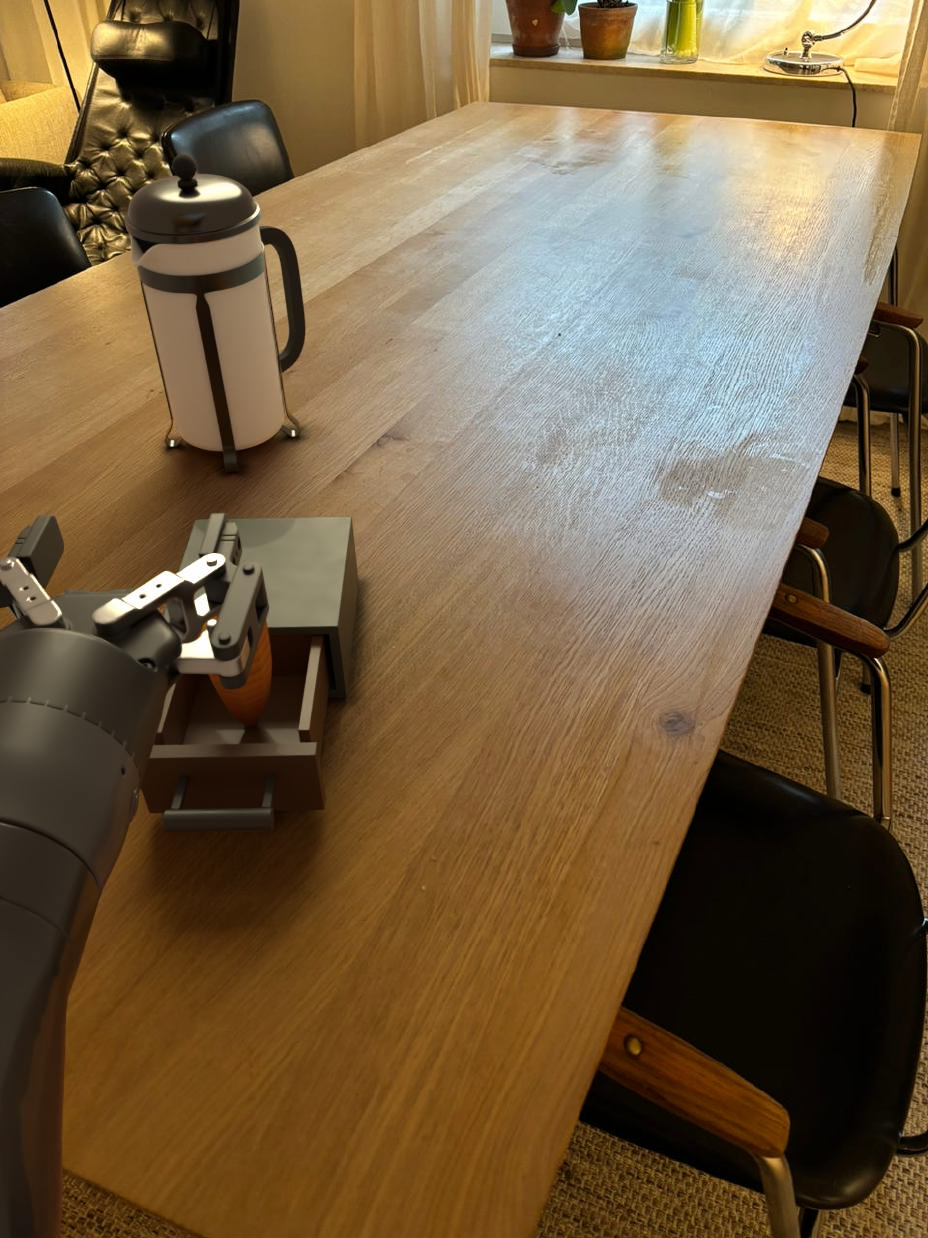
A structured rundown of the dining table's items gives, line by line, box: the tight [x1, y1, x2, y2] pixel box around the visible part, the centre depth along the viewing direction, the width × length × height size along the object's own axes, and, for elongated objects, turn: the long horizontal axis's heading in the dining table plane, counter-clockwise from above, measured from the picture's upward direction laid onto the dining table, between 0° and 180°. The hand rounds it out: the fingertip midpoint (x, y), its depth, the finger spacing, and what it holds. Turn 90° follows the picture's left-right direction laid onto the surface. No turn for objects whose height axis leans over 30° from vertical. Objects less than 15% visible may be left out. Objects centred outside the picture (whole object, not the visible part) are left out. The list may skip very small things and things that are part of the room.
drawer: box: [140, 634, 331, 834], centre depth 72 cm, size 18×12×6 cm
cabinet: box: [163, 516, 360, 699], centre depth 83 cm, size 15×14×8 cm
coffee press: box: [123, 153, 307, 473], centre depth 102 cm, size 17×16×30 cm
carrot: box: [197, 613, 272, 727], centre depth 70 cm, size 5×5×15 cm
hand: (137, 528), depth 50 cm, fingers open, 8 cm apart
